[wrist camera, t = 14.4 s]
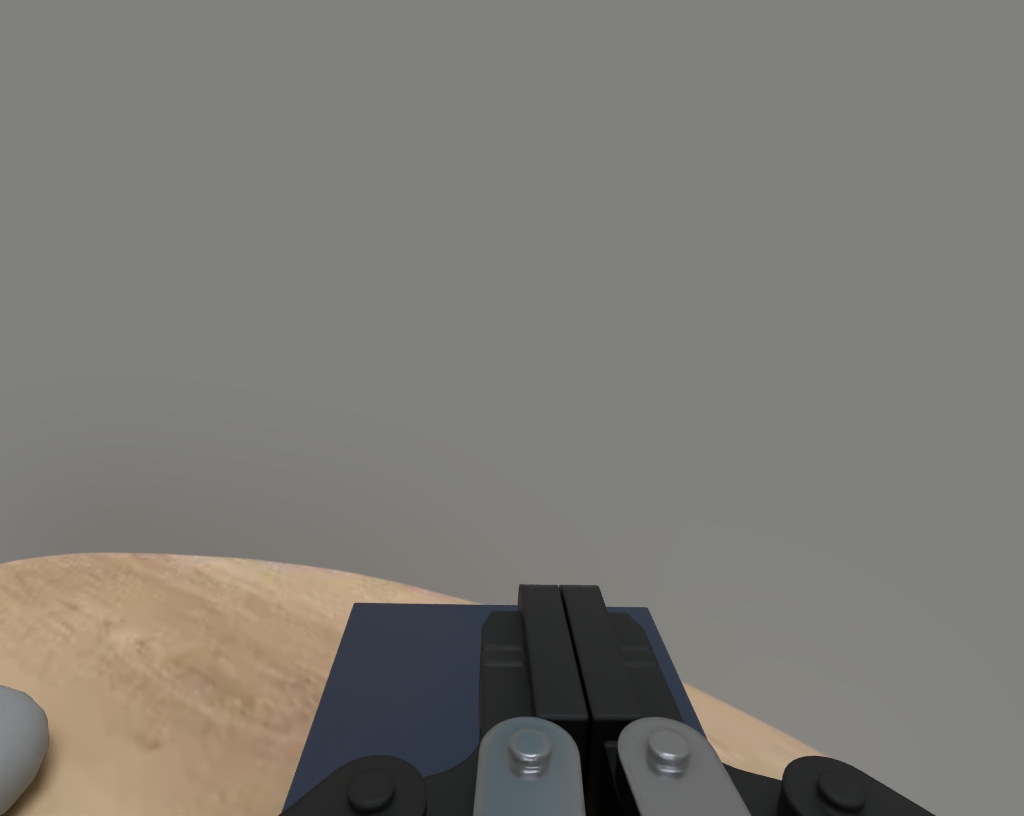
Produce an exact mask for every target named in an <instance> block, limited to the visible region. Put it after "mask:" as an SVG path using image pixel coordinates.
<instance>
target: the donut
mask: <svg viewBox="0 0 1024 816" xmlns="http://www.w3.org/2000/svg"><path fill="white" fill-rule="evenodd" d="M48 747H49V731H48V720H47V716H46V714H45V712H44V710H43V709H42V708H41V707H40V706H39V705H38V704H37V703H36V702H35V701H34V700H33V699H32V698H31V697H30V696H29V695H27V694H26V693H25V692H22V691H19V690H15V689H12V688H9V687H6V686H2V685H0V816H1V815H2V814H4V813H5V812H6V811H7V810H8V809H9V808H10V807H11V806H12V805H13V804H14V803H15V801H16V800H17V799H18V798H19V797H20V796H21V794H22V793H23V792H24V791H25V790H26V789H27V787H28V786H29V785H30V784H31V783H32V782H33V780H34V778H35V776H36V774H37V772H38V770H39V768H40V765H41V763H42V761H43V759H44V756H45V754H46V752H47V750H48Z"/></svg>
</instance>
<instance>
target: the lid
mask: <svg viewBox="0 0 1024 816" xmlns="http://www.w3.org/2000/svg"><path fill="white" fill-rule="evenodd" d="M517 609H518V605H517V606H516V605H457V604H393V603H354V605H353V608H352V611H351V613H350V616H349V619H348V622H347V625H346V628H345V631H344V634H343V637H342V639H341V642H340V645H339V648H338V651H337V654H336V657H335V660H334V663H333V665H332V668H331V671H330V674H329V677H328V680H327V683H326V686H325V689H324V691H323V694H322V697H321V700H320V703H319V706H318V709H317V712H316V715H315V717H314V720H313V723H312V726H311V729H310V732H309V735H308V738H307V741H306V743H305V746H304V749H303V752H302V755H301V758H300V761H299V764H298V767H297V769H296V772H295V775H294V778H293V781H292V784H291V787H290V790H289V793H288V796H287V798H286V801H285V804H284V807H283V810H282V812H284V811H285V810H286V809H287V808H289V807H290V806H291V805H292V804H294V803H295V802H296V801H297V800H299V799H300V798H301V797H302V796H304V795H305V794H306V793H307V792H309V791H310V790H311V789H312V788H314V787H315V786H316V785H317V784H319V783H320V782H321V781H322V780H324V779H325V778H326V777H327V776H329V775H330V774H331V773H332V772H334V771H335V770H336V769H338V768H339V767H341V766H342V765H344V764H346V763H348V762H350V761H352V760H355V759H358V758H361V757H365V756H371V755H388V756H394V757H397V758H400V759H403V760H405V761H407V762H409V763H410V764H412V765H413V766H414V767H415V768H416V769H417V770H418V771H419V772H420V773H421V775H422V777H426V776H430V775H433V774H437V773H440V772H443V771H446V770H449V769H451V768H453V767H455V766H457V765H458V764H460V763H461V762H463V761H464V760H465V759H466V758H468V757H469V756H470V755H471V754H472V752H473V751H474V750H475V749H476V747H477V745H478V743H479V676H480V650H481V627H482V626H483V624H484V623H485V621H486V620H487V618H488V617H489V615H490V614H491V612H492V611H517ZM606 609H607V612H626V613H627V614H629V615H630V616H631V617H632V618H633V619H634V620H635V621H636V622H637V623H638V624H639V625H640V626H642V627H643V628H644V630H645V632H646V634H647V637H648V639H649V642H650V644H651V646H652V652H654V653H655V656H656V658H657V660H658V663H659V668H661V670H662V672H663V674H664V677H665V679H666V682H667V684H668V686H669V689H670V691H671V693H672V696H673V698H674V700H675V703H676V705H677V707H678V710H679V712H680V714H681V717H682V719H683V722H684V724H686V725H688V726H690V727H692V728H693V729H695V730H696V731H698V732H699V733H700V734H701V735H703V736H704V737H705V738H706V735H705V733H704V731H703V729H702V727H701V724H700V722H699V720H698V718H697V716H696V713H695V711H694V709H693V707H692V705H691V702H690V700H689V698H688V696H687V694H686V691H685V689H684V687H683V685H682V682H681V680H680V678H679V676H678V674H677V672H676V669H675V667H674V665H673V663H672V661H671V658H670V656H669V654H668V652H667V649H666V647H665V645H664V643H663V641H662V638H661V636H660V634H659V632H658V630H657V627H656V625H655V623H654V621H653V619H652V616H651V614H650V612H649V610H648V608H646V607H645V608H644V607H606ZM706 739H707V738H706Z"/></svg>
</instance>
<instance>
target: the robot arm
mask: <svg viewBox="0 0 1024 816" xmlns="http://www.w3.org/2000/svg"><path fill="white" fill-rule="evenodd" d="M278 816H935V815H934V814H932V813H930V812H929V811H927V810H925V809H924V808H922V807H920V806H919V805H917V804H915V803H914V802H912V801H910V800H909V799H907V798H905V797H904V796H902V795H900V794H899V793H897V792H895V791H894V790H892V789H890V788H889V787H887V786H885V785H884V784H882V783H880V782H879V781H877V780H875V779H874V778H872V777H870V776H869V775H867V774H865V773H863V772H862V771H860V770H858V769H857V768H855V767H853V766H851V765H849V764H846V763H844V762H841V761H838V760H835V759H832V758H827V757H821V756H805V757H801V758H798V759H795V760H793V761H792V762H791V763H789V764H788V766H787V767H786V768H785V771H784V774H783V778H782V781H781V780H777V779H773V778H769V777H766V776H762V775H758V774H754V773H750V772H746V771H743V770H740V769H736V768H734V767H731V766H729V765H727V764H724V763H723V762H721V760H720V759H719V757H718V755H717V753H716V751H715V750H714V748H713V747H712V745H711V744H710V742H709V741H708V740H707V739H706V738H705V737H704V736H703V735H701V734H700V733H699V732H698V731H696V730H695V729H693V728H692V727H690V726H688V725H686V724H684V722H683V719H682V717H681V714H680V712H679V710H678V707H677V705H676V703H675V700H674V698H673V696H672V693H671V691H670V689H669V686H668V684H667V682H666V679H665V677H664V674H663V672H662V670H661V668H659V663H658V660H657V658H656V656H655V653H654V652H652V646H651V644H650V642H649V639H648V637H647V634H646V632H645V630H644V628H643V627H642V626H640V625H639V624H638V623H637V622H636V621H635V620H634V619H633V618H632V617H631V616H630V615H629V614H627V613H626V612H607V609H606V606H605V603H604V600H603V597H602V594H601V592H600V589H599V587H598V586H597V585H560V586H559V588H558V585H525V584H524V585H523V584H521V585H519V592H518V609H517V611H492V612H491V614H490V615H489V617H488V618H487V620H486V621H485V623H484V624H483V626H482V627H481V650H480V676H479V743H478V745H477V747H476V749H475V750H474V751H473V752H472V754H471V755H470V756H469V757H468V758H466V759H465V760H464V761H463V762H461V763H460V764H458V765H457V766H455V767H453V768H451V769H449V770H446V771H443V772H440V773H437V774H433V775H430V776H426V777H422V775H421V773H420V772H419V771H418V770H417V769H416V768H415V767H414V766H413V765H412V764H410V763H409V762H407V761H405V760H403V759H400V758H397V757H394V756H388V755H371V756H365V757H361V758H358V759H355V760H352V761H350V762H348V763H346V764H344V765H342V766H341V767H339V768H338V769H336V770H335V771H334V772H332V773H331V774H330V775H329V776H327V777H326V778H325V779H324V780H322V781H321V782H320V783H319V784H317V785H316V786H315V787H314V788H312V789H311V790H310V791H309V792H307V793H306V794H305V795H304V796H302V797H301V798H300V799H299V800H297V801H296V802H295V803H294V804H292V805H291V806H290V807H289V808H287V809H286V810H285V811H284V812H282V813H281V814H280V815H278Z"/></svg>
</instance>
